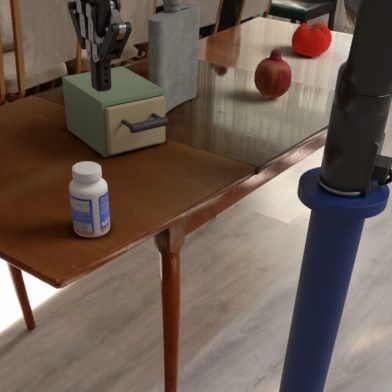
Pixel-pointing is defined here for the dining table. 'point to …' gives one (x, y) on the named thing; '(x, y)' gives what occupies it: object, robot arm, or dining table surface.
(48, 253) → the dining table surface
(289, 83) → the fruit
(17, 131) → the dining table surface
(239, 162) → the dining table surface
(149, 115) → the drawer
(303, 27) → the tomato
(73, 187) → the pill bottle
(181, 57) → the hip flask
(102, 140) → the cabinet
